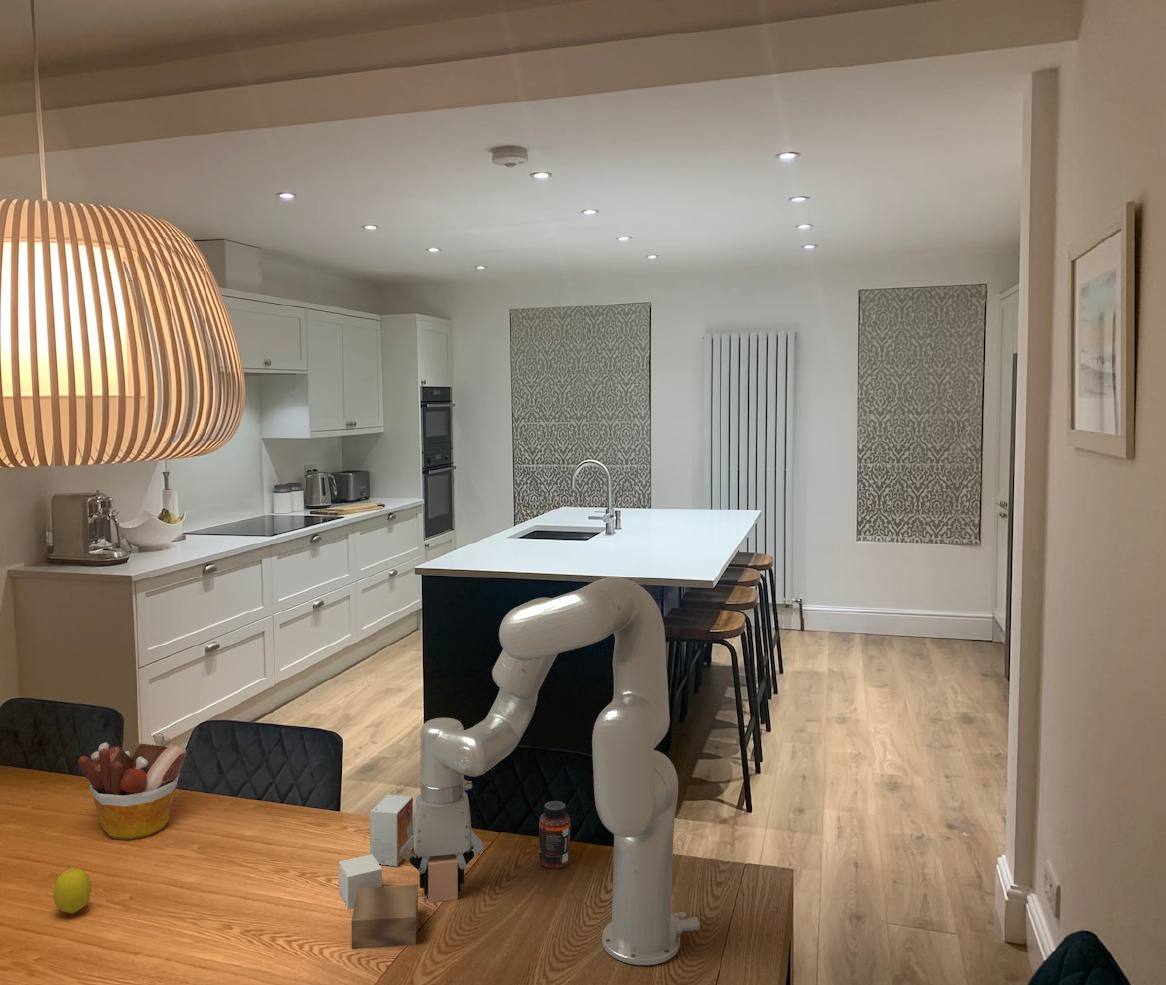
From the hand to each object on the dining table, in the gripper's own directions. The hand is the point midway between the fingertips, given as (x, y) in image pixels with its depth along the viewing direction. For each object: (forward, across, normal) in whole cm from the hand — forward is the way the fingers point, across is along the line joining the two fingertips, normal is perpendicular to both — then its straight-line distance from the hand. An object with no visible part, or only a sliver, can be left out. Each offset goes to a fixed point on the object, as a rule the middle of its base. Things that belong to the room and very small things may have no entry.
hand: (441, 888), depth 161 cm
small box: (+1, +8, -16) cm, 18 cm away
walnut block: (+1, +10, +9) cm, 14 cm away
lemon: (+1, +61, -7) cm, 61 cm away
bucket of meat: (+1, +58, -38) cm, 69 cm away
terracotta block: (+1, 0, 0) cm, 1 cm away
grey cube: (+1, +14, -2) cm, 14 cm away
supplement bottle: (+1, -22, -7) cm, 23 cm away
